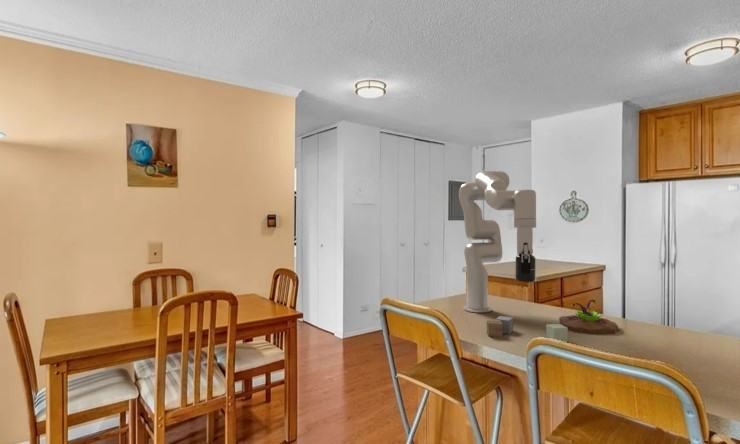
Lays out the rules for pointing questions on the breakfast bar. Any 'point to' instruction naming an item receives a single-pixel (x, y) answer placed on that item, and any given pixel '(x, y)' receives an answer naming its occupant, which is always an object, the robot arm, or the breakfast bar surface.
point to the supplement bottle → (525, 277)
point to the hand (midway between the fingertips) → (525, 271)
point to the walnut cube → (494, 328)
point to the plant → (588, 322)
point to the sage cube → (557, 332)
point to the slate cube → (506, 324)
